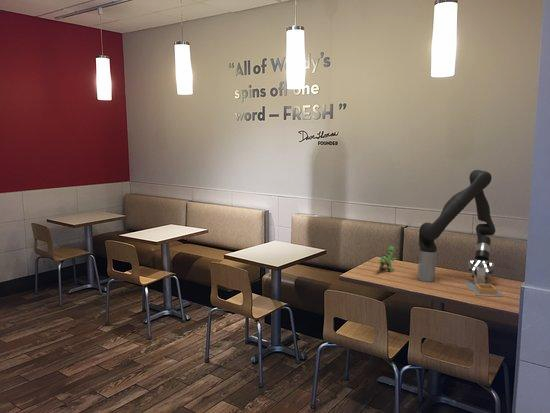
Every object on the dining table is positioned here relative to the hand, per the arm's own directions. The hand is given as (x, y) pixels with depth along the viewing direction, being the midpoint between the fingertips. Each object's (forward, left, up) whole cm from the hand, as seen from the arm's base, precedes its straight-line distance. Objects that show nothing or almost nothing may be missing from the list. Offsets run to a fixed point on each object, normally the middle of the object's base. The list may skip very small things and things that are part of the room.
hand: (479, 278), depth 274 cm
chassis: (+1, -5, -5) cm, 8 cm away
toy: (-47, +25, -6) cm, 54 cm away
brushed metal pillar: (+1, +2, -4) cm, 5 cm away
